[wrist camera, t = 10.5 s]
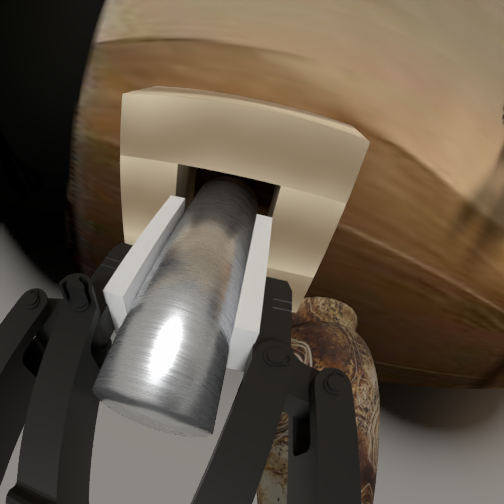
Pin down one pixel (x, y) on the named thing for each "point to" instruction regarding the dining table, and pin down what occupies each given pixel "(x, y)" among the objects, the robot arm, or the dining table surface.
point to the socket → (241, 166)
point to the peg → (184, 318)
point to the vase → (319, 357)
